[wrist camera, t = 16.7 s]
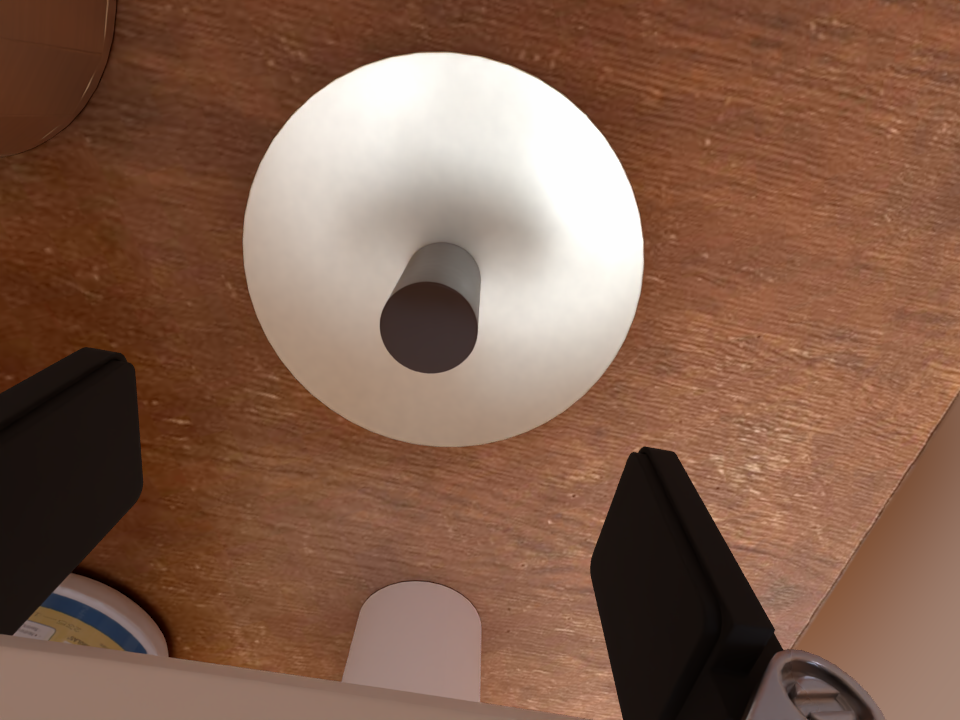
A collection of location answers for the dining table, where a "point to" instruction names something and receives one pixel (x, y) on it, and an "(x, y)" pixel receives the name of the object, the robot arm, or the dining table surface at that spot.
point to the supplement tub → (94, 619)
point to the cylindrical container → (417, 642)
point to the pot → (49, 65)
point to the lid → (443, 249)
